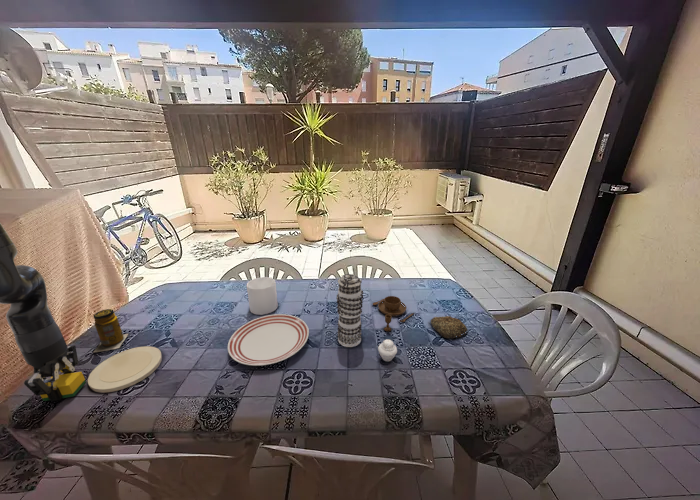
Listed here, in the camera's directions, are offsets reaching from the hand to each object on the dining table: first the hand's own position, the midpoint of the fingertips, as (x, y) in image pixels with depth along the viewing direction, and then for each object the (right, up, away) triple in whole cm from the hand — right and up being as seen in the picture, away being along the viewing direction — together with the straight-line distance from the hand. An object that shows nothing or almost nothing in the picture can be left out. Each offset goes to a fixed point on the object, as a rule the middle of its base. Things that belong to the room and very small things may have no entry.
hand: (65, 390), depth 76 cm
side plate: (+10, +2, +9) cm, 14 cm away
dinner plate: (+51, +6, +21) cm, 56 cm away
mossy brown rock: (+118, +9, +29) cm, 122 cm away
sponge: (0, 0, 0) cm, 0 cm away
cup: (+42, +14, +43) cm, 62 cm away
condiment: (-5, +6, +20) cm, 22 cm away
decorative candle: (+80, +7, +23) cm, 83 cm away
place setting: (+95, +12, +39) cm, 104 cm away
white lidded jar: (+92, +3, +14) cm, 93 cm away
